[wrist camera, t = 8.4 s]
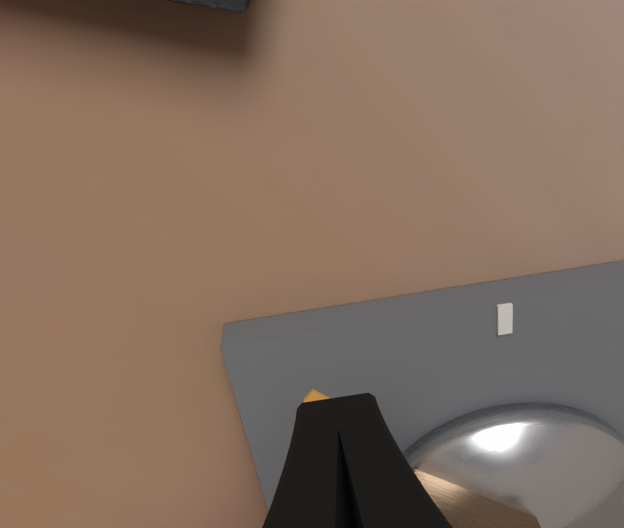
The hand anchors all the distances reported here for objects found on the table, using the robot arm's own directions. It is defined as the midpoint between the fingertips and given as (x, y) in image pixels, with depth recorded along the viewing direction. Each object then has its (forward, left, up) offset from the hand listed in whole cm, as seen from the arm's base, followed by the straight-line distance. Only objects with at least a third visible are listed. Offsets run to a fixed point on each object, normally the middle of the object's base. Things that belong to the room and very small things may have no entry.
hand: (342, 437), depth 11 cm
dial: (-5, +13, -9) cm, 16 cm away
